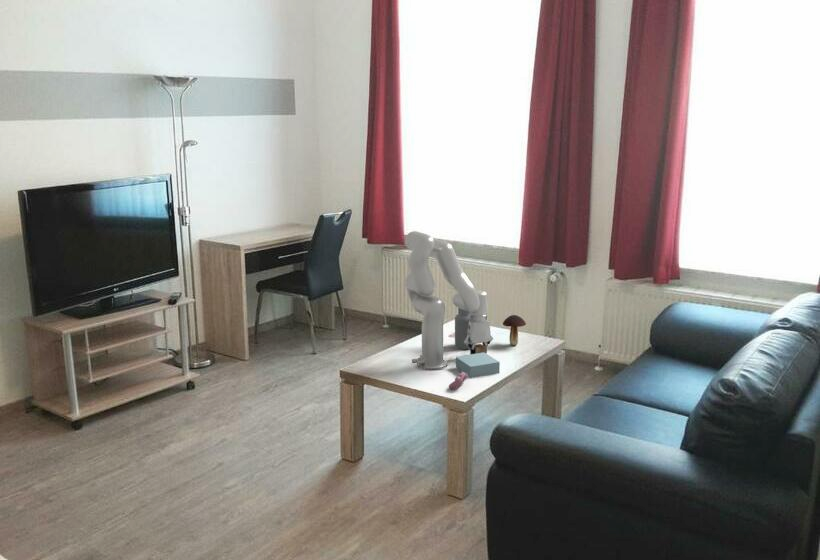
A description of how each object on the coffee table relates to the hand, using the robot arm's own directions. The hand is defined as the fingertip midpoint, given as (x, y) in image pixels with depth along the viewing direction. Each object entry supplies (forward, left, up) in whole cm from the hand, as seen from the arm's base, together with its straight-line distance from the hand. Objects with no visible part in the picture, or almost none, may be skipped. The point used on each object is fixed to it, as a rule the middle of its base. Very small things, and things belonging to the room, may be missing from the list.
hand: (478, 355), depth 340 cm
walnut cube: (0, 0, -1) cm, 1 cm away
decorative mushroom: (+23, +7, -1) cm, 24 cm away
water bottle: (+1, +15, -1) cm, 15 cm away
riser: (-9, -16, 0) cm, 18 cm away
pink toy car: (-25, -29, -1) cm, 38 cm away
